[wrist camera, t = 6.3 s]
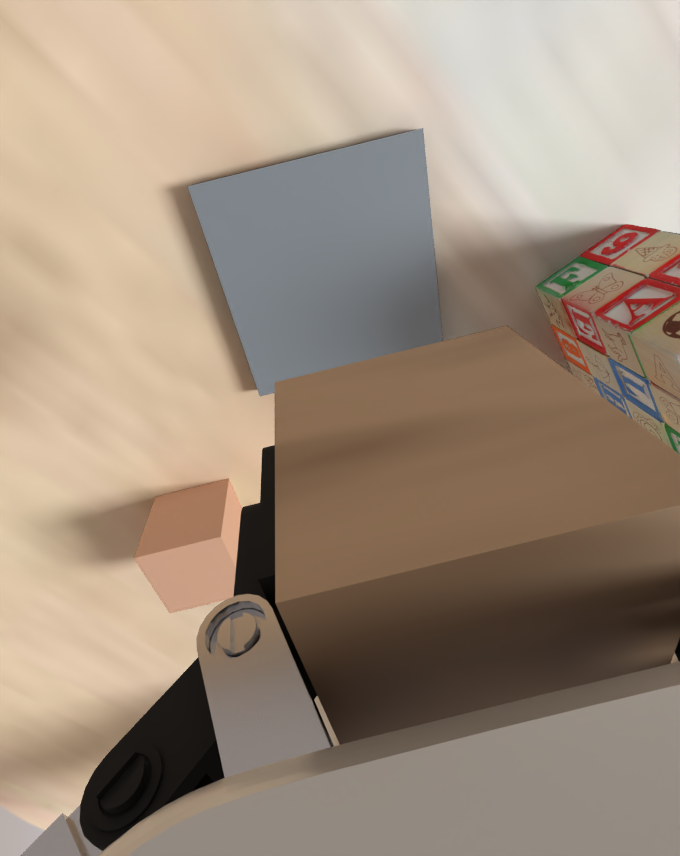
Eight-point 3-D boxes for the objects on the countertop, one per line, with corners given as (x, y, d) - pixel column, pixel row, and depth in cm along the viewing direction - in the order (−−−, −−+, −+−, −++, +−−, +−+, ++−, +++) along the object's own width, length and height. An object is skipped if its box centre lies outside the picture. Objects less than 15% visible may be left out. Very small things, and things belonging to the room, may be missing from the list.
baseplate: (438, 345, 29) (443, 350, 28) (260, 389, 29) (259, 396, 28) (417, 129, 23) (423, 128, 22) (190, 185, 23) (187, 186, 22)
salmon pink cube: (252, 531, 36) (248, 593, 30) (184, 548, 36) (169, 613, 30) (229, 477, 33) (220, 536, 28) (155, 496, 33) (133, 558, 28)
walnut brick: (507, 501, 13) (651, 716, 8) (326, 544, 13) (359, 787, 8) (506, 325, 10) (731, 492, 5) (274, 382, 10) (275, 602, 5)
